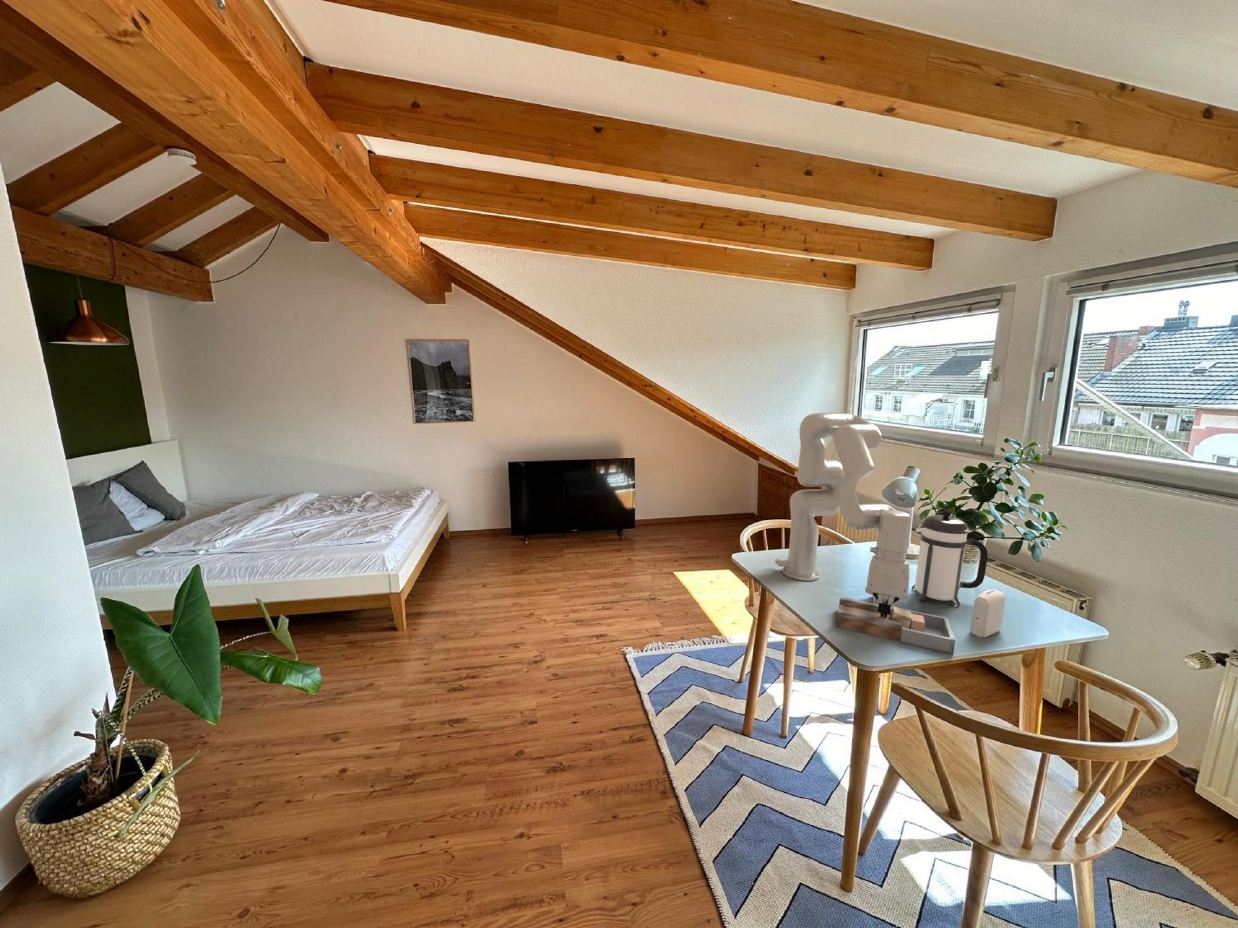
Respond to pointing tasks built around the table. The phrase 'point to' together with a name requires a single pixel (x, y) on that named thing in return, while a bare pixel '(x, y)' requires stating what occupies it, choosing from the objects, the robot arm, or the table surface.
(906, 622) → the beige block
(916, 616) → the salmon orange block
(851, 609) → the slot block
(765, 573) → the table surface
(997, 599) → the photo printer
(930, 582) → the coffee press
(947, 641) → the tray
